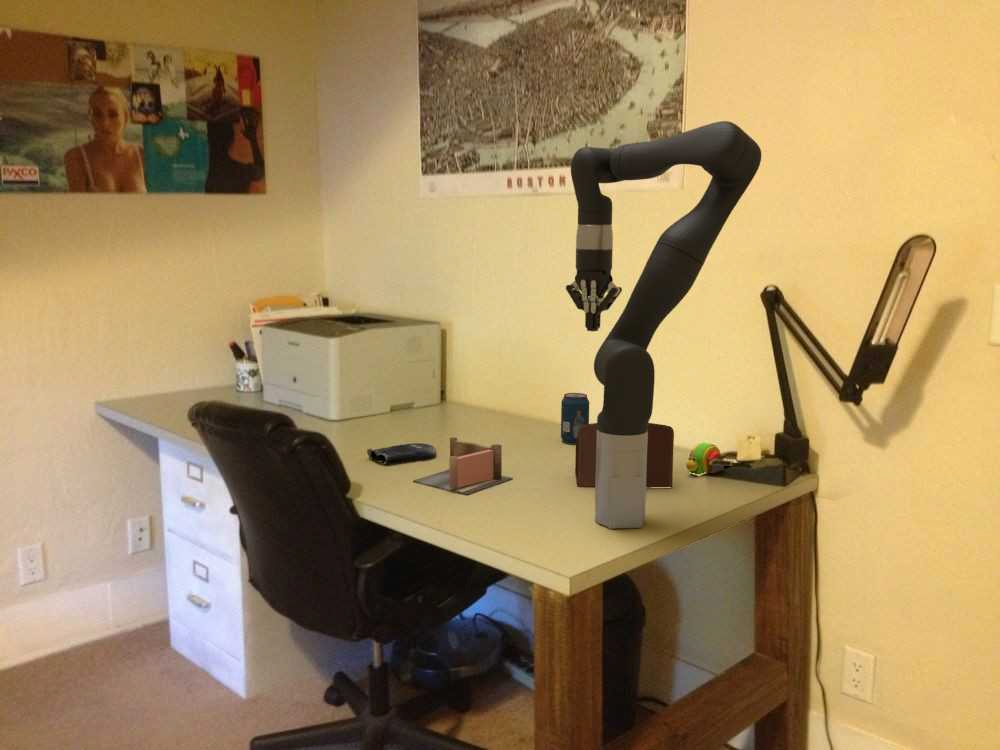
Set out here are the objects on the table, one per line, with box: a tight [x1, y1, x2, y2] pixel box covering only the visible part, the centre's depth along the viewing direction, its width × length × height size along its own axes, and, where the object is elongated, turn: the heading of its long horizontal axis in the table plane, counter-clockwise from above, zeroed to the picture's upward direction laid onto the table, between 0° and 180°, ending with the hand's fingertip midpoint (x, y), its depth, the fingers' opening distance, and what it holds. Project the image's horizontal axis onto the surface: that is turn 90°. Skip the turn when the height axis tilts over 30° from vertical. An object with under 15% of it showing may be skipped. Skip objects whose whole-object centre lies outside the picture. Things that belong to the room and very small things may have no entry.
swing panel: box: [449, 450, 493, 489], centre depth 189 cm, size 12×2×6 cm, turn 134°
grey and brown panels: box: [413, 437, 514, 496], centre depth 194 cm, size 16×15×8 cm
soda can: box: [560, 392, 590, 445], centre depth 228 cm, size 7×7×12 cm
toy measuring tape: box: [685, 442, 722, 474], centre depth 204 cm, size 6×20×7 cm, turn 130°
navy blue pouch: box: [366, 442, 437, 466], centre depth 212 cm, size 9×6×15 cm
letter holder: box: [574, 422, 675, 488], centre depth 193 cm, size 10×20×14 cm, turn 87°
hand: (592, 330), depth 191 cm, fingers closed
